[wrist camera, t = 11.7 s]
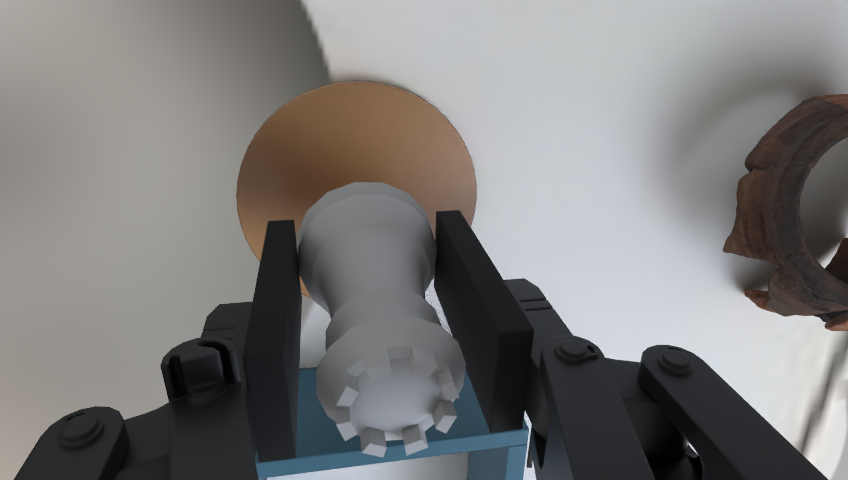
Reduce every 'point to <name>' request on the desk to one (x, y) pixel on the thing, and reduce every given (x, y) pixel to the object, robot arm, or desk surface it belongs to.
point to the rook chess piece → (379, 317)
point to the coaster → (351, 155)
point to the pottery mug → (792, 214)
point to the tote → (401, 441)
